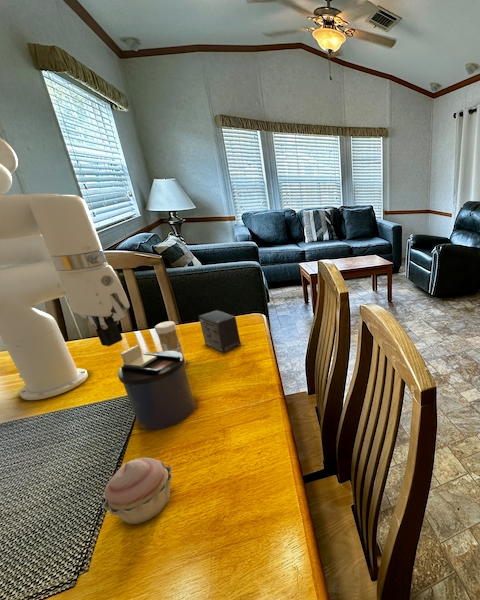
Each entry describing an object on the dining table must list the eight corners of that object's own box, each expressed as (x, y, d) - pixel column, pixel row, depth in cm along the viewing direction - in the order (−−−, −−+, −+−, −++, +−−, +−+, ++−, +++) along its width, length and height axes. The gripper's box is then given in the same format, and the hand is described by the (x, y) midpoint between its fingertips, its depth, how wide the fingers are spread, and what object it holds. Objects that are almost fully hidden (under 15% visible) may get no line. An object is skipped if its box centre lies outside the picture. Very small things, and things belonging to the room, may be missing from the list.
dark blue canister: (123, 427, 72) (101, 373, 67) (168, 393, 82) (152, 345, 77) (167, 434, 70) (148, 379, 64) (208, 399, 80) (194, 350, 75)
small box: (243, 345, 105) (236, 315, 101) (223, 354, 100) (216, 323, 96) (223, 337, 110) (217, 308, 106) (204, 345, 105) (196, 315, 101)
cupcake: (124, 491, 57) (104, 448, 53) (185, 475, 60) (170, 433, 57) (100, 544, 49) (75, 498, 45) (172, 522, 52) (154, 477, 48)
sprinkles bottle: (186, 367, 93) (174, 325, 88) (167, 372, 91) (154, 329, 86) (186, 360, 97) (174, 319, 92) (167, 364, 95) (154, 323, 90)
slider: (123, 366, 70) (119, 353, 69) (141, 356, 74) (136, 344, 73) (140, 368, 69) (136, 356, 68) (157, 358, 73) (153, 346, 72)
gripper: (129, 257, 66) (156, 337, 73) (72, 255, 69) (103, 332, 76) (90, 267, 59) (123, 354, 66) (28, 264, 62) (66, 348, 69)
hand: (112, 342), depth 71 cm, fingers closed
